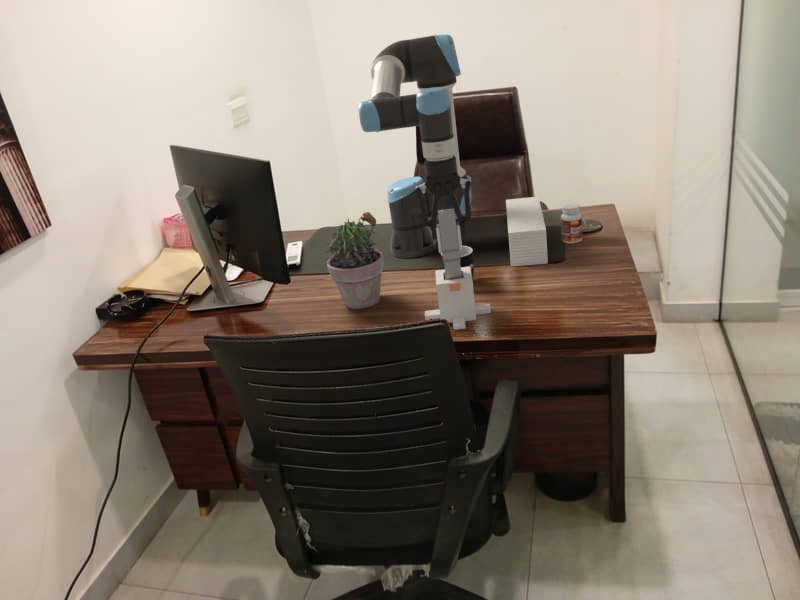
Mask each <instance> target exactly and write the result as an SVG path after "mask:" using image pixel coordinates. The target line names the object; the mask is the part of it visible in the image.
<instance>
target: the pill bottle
mask: <svg viewBox="0 0 800 600" xmlns="http://www.w3.org/2000/svg"><path fill="white" fill-rule="evenodd" d="M561 208H562V211H561V212H562V214H560V224H561V225H560V227H561V228H560V229H561V241H562V242H563V243H565V244H569V245H570V244H578V243H579V242H581V241H582V240H583V226H582V225H583V224H582V223H583V222H582V220H583V219H582V218H583V216H582V214H581V212H580V211H581V210H580V209H581V208H580V204H578V203H576V202H575V203H572V202H570V203H566V204H563V205H562V206H561Z"/></svg>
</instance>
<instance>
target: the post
mask: <svg viewBox="0 0 800 600" xmlns="http://www.w3.org/2000/svg"><path fill="white" fill-rule="evenodd" d="M437 218H438V219H437V220H438V224H439V230H440V238H441V247H442V255H443V263H444V268H445V280H452V279H460V278H462V274H461V266H460V261H461V260H460V253H459V252H460V251H459V244H458V235H457V226H456V222H457V221H456V215H455V212H454V208H453V209H445V210H438V217H437Z"/></svg>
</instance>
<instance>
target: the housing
mask: <svg viewBox="0 0 800 600" xmlns="http://www.w3.org/2000/svg"><path fill="white" fill-rule="evenodd" d="M434 273H435V285H436V294H437V302H438V309H431V310H430V309H429V310H424V317H425V318H424V320H425V321H429V320H431V319H432V320H441V319H446V320H448V322H449V323H448V324H451V323H452V325H453V326H452V327H453V330H456V331H457V330H464V329H467V328H466V322H469V321H477V315H483V314H489V313H490V314H492V307H491V304H490V303H483V304H476V301H475V293H474V283H473V281H474V279H473V280H472V275H471V269H470V266H469V267H461V274H462V278H460V279H452V280H445V269H438V270H437V269H436V270H435V271H434Z"/></svg>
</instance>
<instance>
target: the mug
mask: <svg viewBox="0 0 800 600" xmlns="http://www.w3.org/2000/svg"><path fill="white" fill-rule="evenodd" d="M459 253H460V260H461V261H460V266H461V267H469V266H470V269H471V275H472V280H473V281H474V275H475V274H474V272H475V261H474V250H473V248H472V247H470V246H467V245H462V250H460V252H459ZM440 260H441V263H442V270H444V269H445V268H444V263H443V255H442V253H440Z"/></svg>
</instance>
